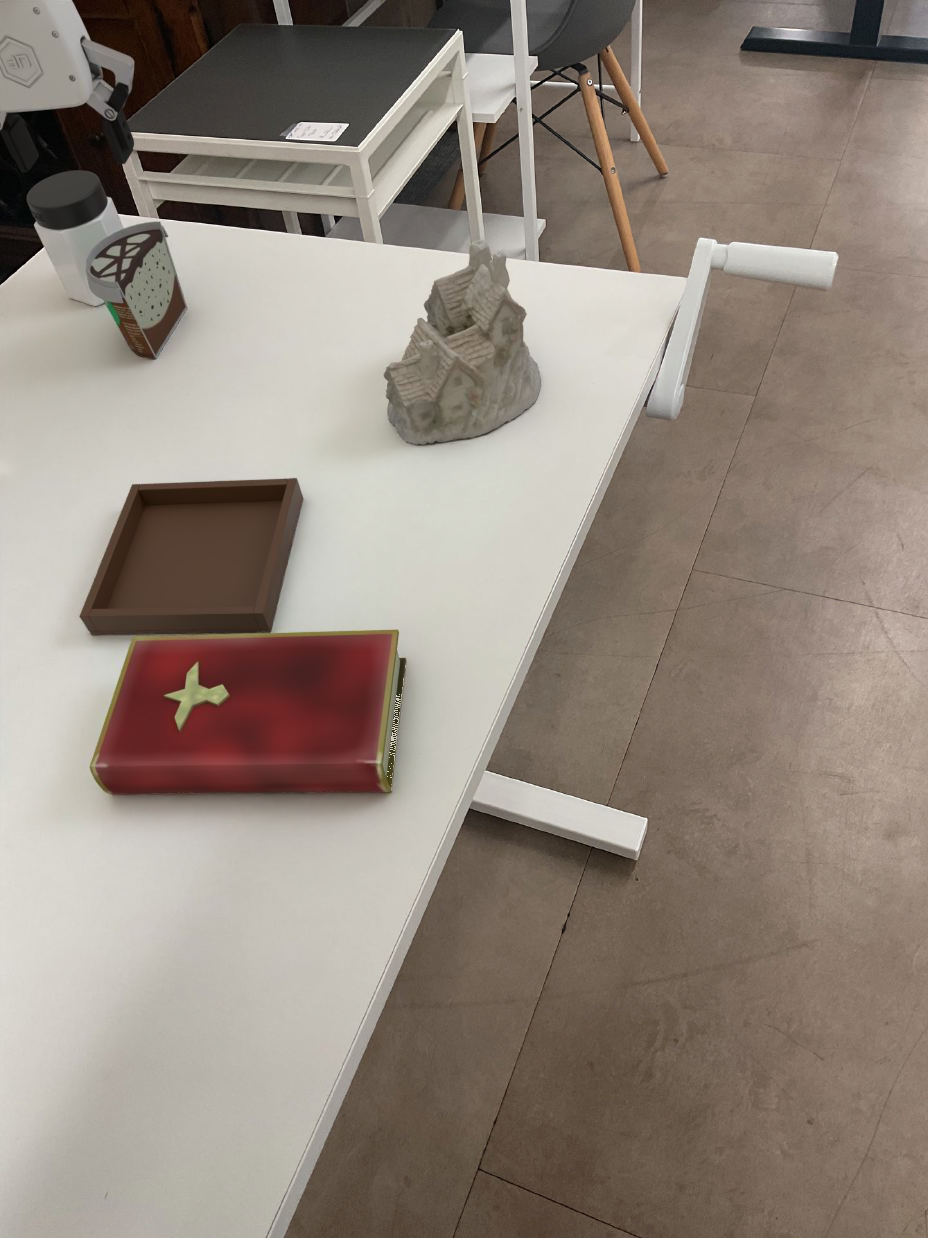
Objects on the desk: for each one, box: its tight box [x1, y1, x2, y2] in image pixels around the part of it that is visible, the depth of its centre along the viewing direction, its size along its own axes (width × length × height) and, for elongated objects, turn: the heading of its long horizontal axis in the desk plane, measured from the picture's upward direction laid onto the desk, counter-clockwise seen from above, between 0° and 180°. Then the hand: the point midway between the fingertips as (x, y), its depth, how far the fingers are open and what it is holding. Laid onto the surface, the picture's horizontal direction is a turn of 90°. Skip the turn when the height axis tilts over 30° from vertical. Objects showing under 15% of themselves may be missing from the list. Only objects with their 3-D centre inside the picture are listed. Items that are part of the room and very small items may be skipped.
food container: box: [86, 220, 188, 360], centre depth 108 cm, size 12×6×10 cm, turn 168°
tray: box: [79, 477, 304, 636], centre depth 87 cm, size 16×16×2 cm
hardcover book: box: [89, 629, 407, 795], centre depth 75 cm, size 12×21×4 cm, turn 87°
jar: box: [26, 169, 125, 307], centre depth 115 cm, size 9×8×12 cm
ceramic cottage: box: [383, 238, 542, 446], centre depth 94 cm, size 16×16×15 cm
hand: (78, 160), depth 95 cm, fingers open, 9 cm apart
